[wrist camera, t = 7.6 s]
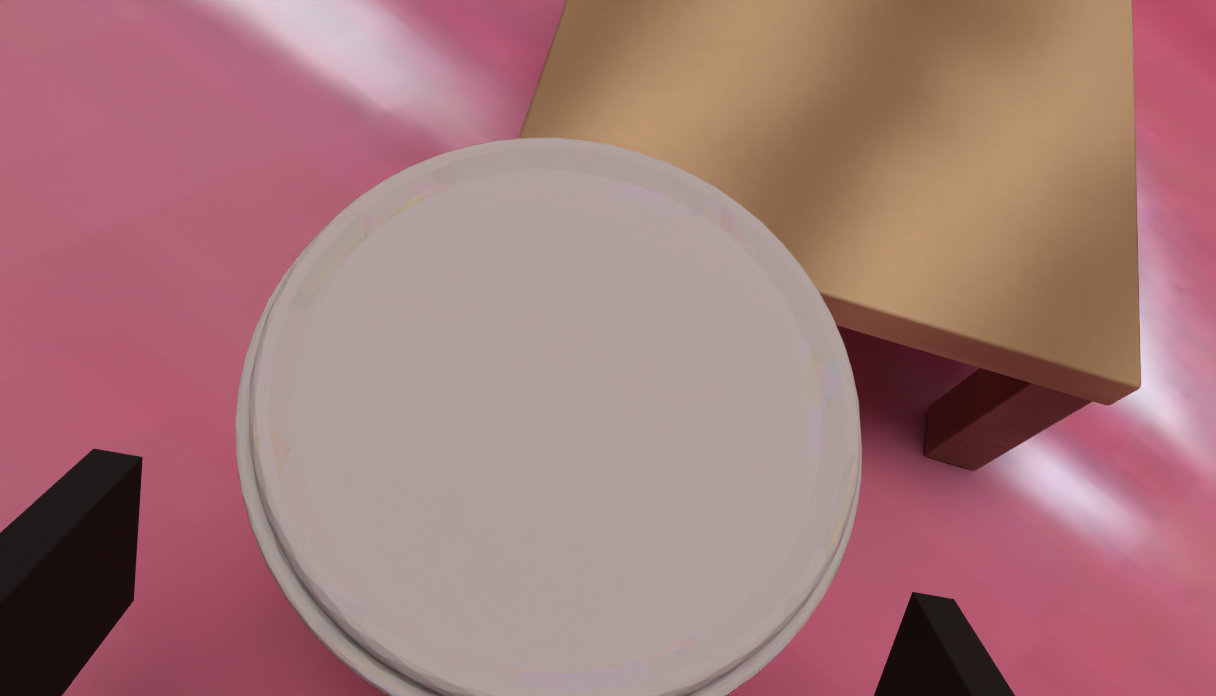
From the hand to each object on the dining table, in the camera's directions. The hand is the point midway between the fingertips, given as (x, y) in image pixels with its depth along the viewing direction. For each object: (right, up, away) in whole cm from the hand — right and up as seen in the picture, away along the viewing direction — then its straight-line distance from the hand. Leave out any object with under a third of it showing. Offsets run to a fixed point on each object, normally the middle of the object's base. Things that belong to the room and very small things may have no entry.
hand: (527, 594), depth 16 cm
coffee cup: (-1, -1, +8) cm, 9 cm away
